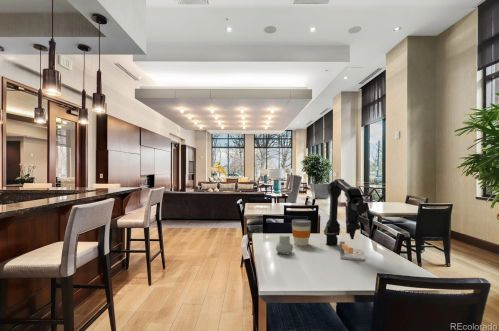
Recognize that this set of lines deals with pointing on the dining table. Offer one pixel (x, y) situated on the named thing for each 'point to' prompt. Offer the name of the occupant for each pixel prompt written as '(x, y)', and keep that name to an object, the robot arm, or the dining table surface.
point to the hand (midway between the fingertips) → (352, 239)
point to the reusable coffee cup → (301, 231)
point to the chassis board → (352, 255)
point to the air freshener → (284, 244)
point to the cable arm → (346, 247)
